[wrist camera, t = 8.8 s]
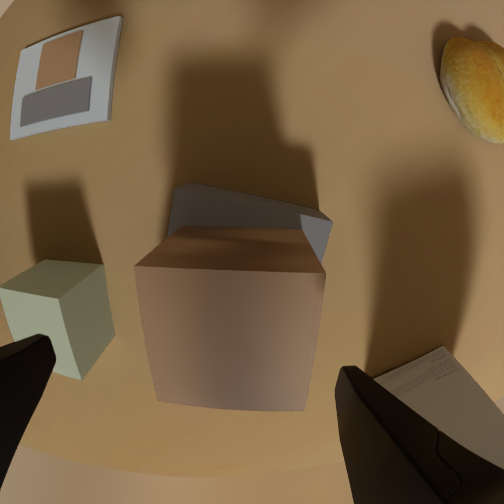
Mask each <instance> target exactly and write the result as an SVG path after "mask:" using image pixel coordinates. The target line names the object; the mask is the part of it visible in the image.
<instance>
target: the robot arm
mask: <svg viewBox="0 0 504 504" xmlns="http://www.w3.org/2000/svg"><path fill="white" fill-rule="evenodd" d="M55 364H56V354H55V351H54V348H53V345H52V342H51V339H50V338H49V336H47V335H44V334H35V335H33V336H30V337H27V338H24V339H21V340H19V341H16V342H13V343H10V344H7V345H5V346H2V347H0V490H1V487H2V484H3V481H4V478H5V476H6V473H7V471H8V468H9V466H10V463H11V461H12V459H13V456H14V454H15V451H16V449H17V447H18V445H19V442H20V440H21V438H22V436H23V434H24V432H25V429H26V427H27V425H28V423H29V421H30V419H31V417H32V415H33V413H34V411H35V409H36V407H37V405H38V403H39V401H40V399H41V397H42V394H43V392H44V390H45V387H46V385H47V382H48V380H49V378H50V375H51V373H52V371H53V368H54V366H55ZM335 401H336V410H337V419H338V428H339V437H340V443H341V447H342V452H343V456H344V460H345V465H346V469H347V473H348V478H349V483H350V487H351V492H352V497H353V501H354V504H504V469H503V468H501V467H499V466H497V465H495V464H493V463H491V462H490V461H488V460H486V459H484V458H482V457H481V456H479V455H477V454H475V453H474V452H472V451H470V450H469V449H467V448H465V447H464V446H462V445H461V444H459V443H458V442H456V441H455V440H453V439H452V438H451V437H449V436H448V435H446V434H445V433H444V432H442V431H441V430H439V431H438V428H437V427H435V426H434V425H433V424H431V423H430V422H429V421H427V420H426V419H425V418H423V417H422V416H421V415H419V414H418V413H417V412H415V411H414V410H413V409H411V408H410V407H409V406H407V405H406V404H405V403H404V402H402V401H401V400H400V399H398V398H397V397H396V396H394V395H393V394H392V393H390V392H389V391H388V390H387V389H385V388H384V387H383V386H381V385H380V384H379V383H377V382H376V381H375V380H374V379H372V378H371V377H370V376H368V375H367V374H366V373H365V372H363V371H362V370H361V369H359V368H358V367H357V366H343V367H341V369H340V372H339V375H338V379H337V383H336V386H335Z"/></svg>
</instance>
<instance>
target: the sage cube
mask: <svg viewBox="0 0 504 504" xmlns="http://www.w3.org/2000/svg"><path fill="white" fill-rule="evenodd" d="M0 298H1V302H2V305H3V309H4V312H5V315H6V319H7V322H8V325H9V328H10V331H11V334H12V337H13V340H14V342H16V341H19V340H21V339H24V338H27V337H30V336H33V335H35V334H44V335H47V336H49V338H50V339H51V342H52V345H53V348H54V351H55V354H56V364H55V366H54V368H53V371H52V372H55V373H58V374H61V375H64V376H68V377H71V378H75V379H78V380H83V378H84V377H85V376H86V374H87V373H88V371H89V370H90V369H91V367H92V366H93V365H94V363H95V362H96V360H97V359H98V358H99V356H100V355H101V354H102V352H103V351H104V350H105V348H106V347H107V346H108V344H109V343H110V342H111V340H112V339H113V338H114V336H115V331H114V326H113V320H112V315H111V310H110V304H109V298H108V291H107V285H106V277H105V270H104V264H94V263H81V262H69V261H57V260H46V259H45V260H43V261H41V262H40V263H38V264H36V265H34V266H33V267H31V268H29V269H27V270H26V271H24V272H22V273H21V274H19V275H17V276H16V277H14V278H12V279H11V280H9V281H7V282H6V283H4V284H2V285H1V286H0Z"/></svg>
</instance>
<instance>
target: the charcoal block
mask: <svg viewBox="0 0 504 504" xmlns="http://www.w3.org/2000/svg"><path fill="white" fill-rule="evenodd" d="M332 223H333V222H332V221H331V220H330V219H329V218H328V217H327V216H326V215H324V214H323V213H322V212H321V211H320V210H317V209H313V208H309V207H305V206H301V205H296V204H292V203H288V202H284V201H279V200H275V199H270V198H266V197H261V196H257V195H252V194H247V193H243V192H238V191H233V190H228V189H223V188H218V187H213V186H208V185H203V184H197V183H192V182H191V183H188V184H185V185H182V186H179V187H176V188H175V189H174V195H173V201H172V207H171V214H170V220H169V228H168V235H167V238H168V237H169V236H170V235H171V234H173V233H174V232H175V231H176V230H177V229H179V228H180V227H181V226H210V227H248V228H278V229H302V230H303V232H304V234H305V235H306V237H307V239H308V241H309V243H310V245H311V246H312V248H313V250H314V252H315V254H316V256H317V257H318V259H319V261H320V263H321V262H322V259H323V255H324V252H325V248H326V245H327V241H328V238H329V234H330V230H331V227H332Z"/></svg>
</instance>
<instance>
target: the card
mask: <svg viewBox="0 0 504 504" xmlns="http://www.w3.org/2000/svg"><path fill="white" fill-rule="evenodd" d="M122 21H123V18H122V17H121V16H116V17H112V18H109V19H105V20H101V21H98V22H94V23H91V24H88V25H85V26H81V27H78V28H75V29H73V30H70V31H67V32H64V33H61V34H59V35H56V36H54V37H51V38H49V39H46V40H44V41H41V42H39V43H37V44H34V45H32V46H30V47H28V48H26V49H24V50H21V54H20V59H19V64H18V70H17V75H16V82H15V89H14V96H13V105H12V115H11V129H10V140H15V139H19V138H23V137H26V136H30V135H35V134H39V133H43V132H48V131H52V130H57V129H62V128H67V127H72V126H78V125H83V124H89V123H96V122H102V121H110V120H111V106H112V94H113V83H114V74H115V65H116V58H117V51H118V44H119V38H120V32H121V26H122Z"/></svg>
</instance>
